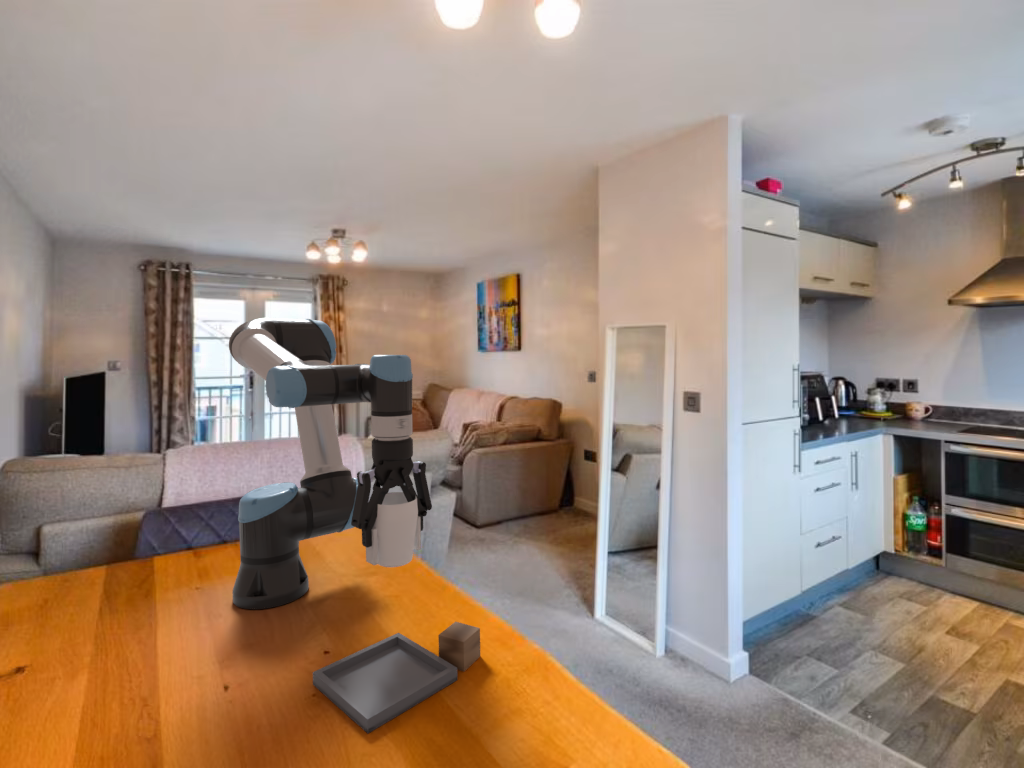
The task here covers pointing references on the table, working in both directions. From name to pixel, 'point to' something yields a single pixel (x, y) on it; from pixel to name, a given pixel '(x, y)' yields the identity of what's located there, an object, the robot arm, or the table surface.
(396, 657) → the tray
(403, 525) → the cup
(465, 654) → the walnut cube
